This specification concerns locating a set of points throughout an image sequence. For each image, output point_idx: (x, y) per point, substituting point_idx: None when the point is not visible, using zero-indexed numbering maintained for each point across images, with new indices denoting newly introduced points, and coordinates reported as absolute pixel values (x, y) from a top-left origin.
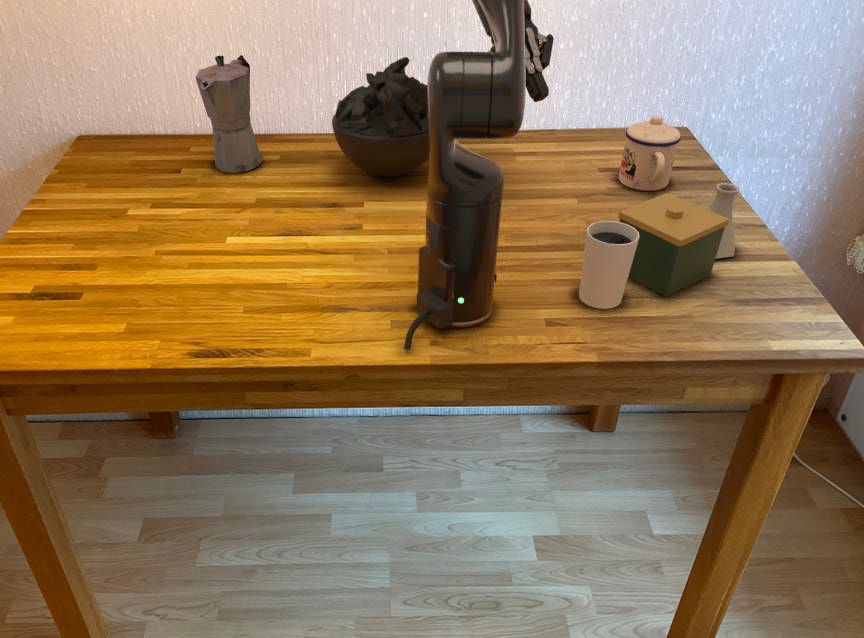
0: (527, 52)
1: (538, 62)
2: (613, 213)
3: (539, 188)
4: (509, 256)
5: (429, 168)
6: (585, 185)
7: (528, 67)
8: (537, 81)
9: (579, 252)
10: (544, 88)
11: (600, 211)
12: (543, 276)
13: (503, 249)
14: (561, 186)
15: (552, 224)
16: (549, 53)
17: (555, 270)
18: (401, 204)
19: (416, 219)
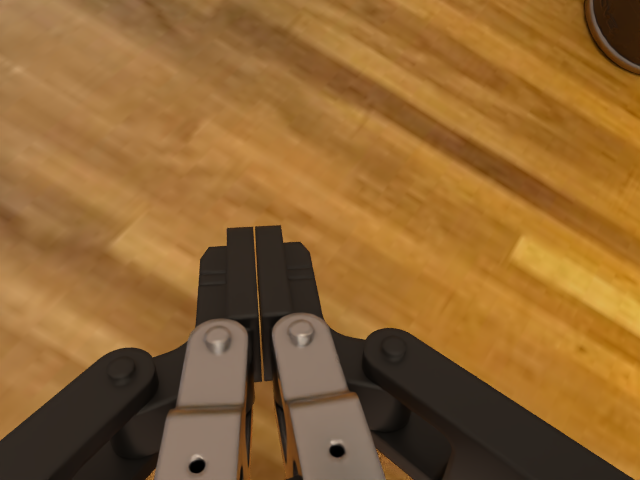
0: (308, 428)
1: (203, 375)
2: (90, 129)
3: None
4: (453, 109)
5: None
6: (16, 303)
7: (320, 349)
8: (279, 276)
9: (310, 37)
10: (245, 244)
11: (111, 156)
12: (440, 11)
13: (446, 139)
14: (84, 335)
15: (271, 169)
16: (23, 440)
17: (404, 13)
18: None
19: (545, 370)
